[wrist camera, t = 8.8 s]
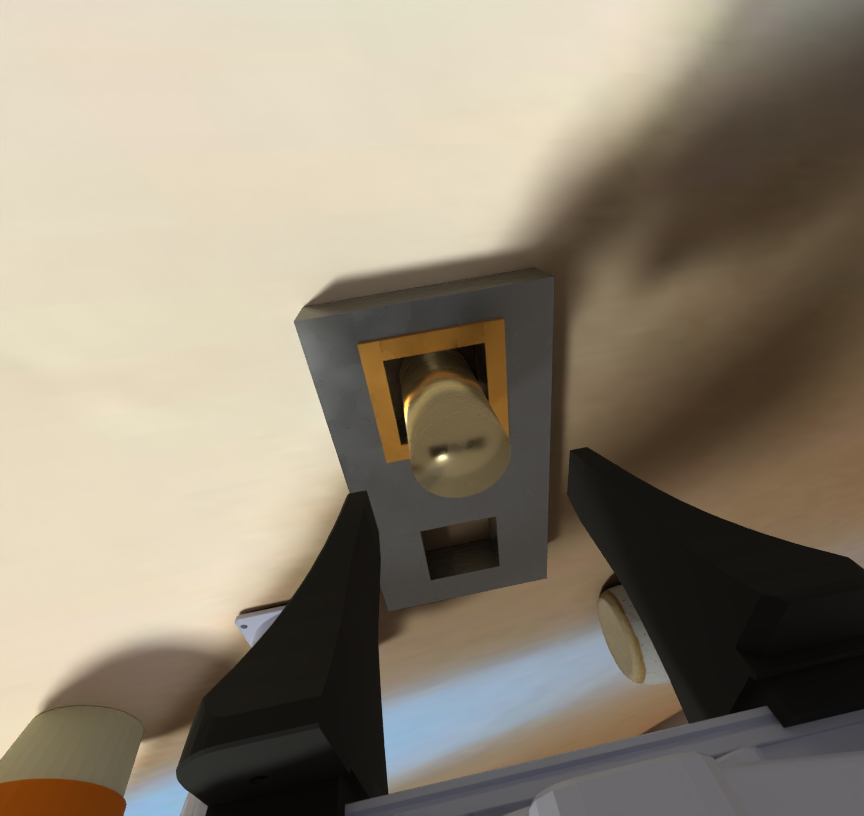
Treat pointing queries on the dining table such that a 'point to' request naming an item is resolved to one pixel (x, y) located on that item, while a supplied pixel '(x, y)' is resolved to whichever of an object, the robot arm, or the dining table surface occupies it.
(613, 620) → the ceramic mug
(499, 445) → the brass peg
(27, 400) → the dining table surface
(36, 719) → the reusable coffee cup
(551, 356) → the hole plate
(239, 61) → the dining table surface
